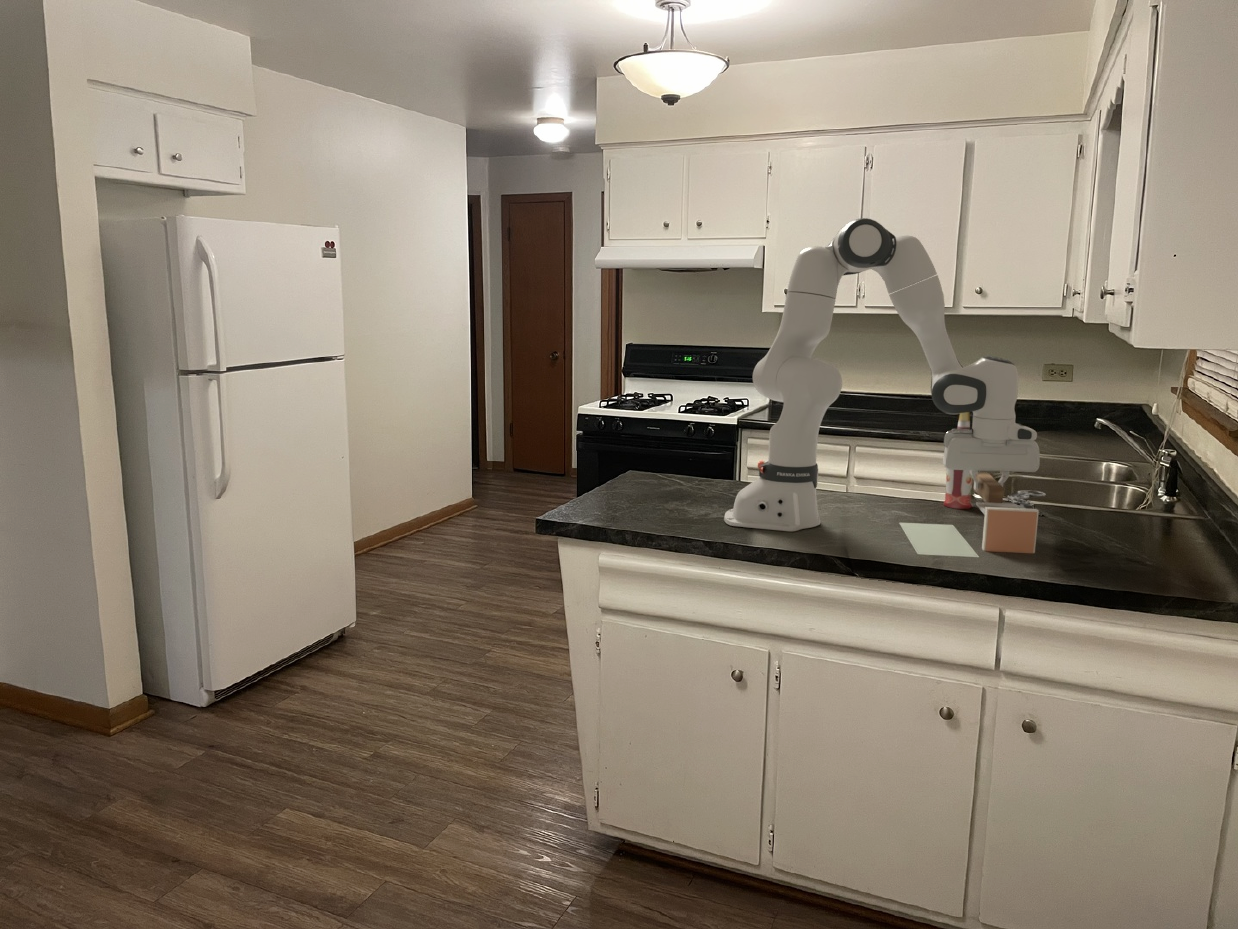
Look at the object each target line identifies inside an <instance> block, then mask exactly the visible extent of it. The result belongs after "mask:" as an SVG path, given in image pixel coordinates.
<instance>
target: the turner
mask: <svg viewBox="0 0 1238 929" xmlns="http://www.w3.org/2000/svg"><path fill="white" fill-rule="evenodd" d="M976 477H977V479H978V481H981V482H983V486H982V490H975V489H974V487H972V490H973V491H975V493H976V494H977V495H978V496H979V497H980V498H981V499H982V500H983V501H976V503H975V505H976V507H977V508H978V509H979V510H980V511H981V512H982V514H983V515H984V516H985V507H1001V508H1019V507H1018V506H1017V505H1016V504H1015V503H1011V502H1003V501H1004V500H1003V499H1004V492H1005V491H1004V490H1005V488H1004V486H1003V487H1002V486H1001V485H1000V484H999V483H998V482H999V481H997V480H996V479H995V478H994V477H993V476H992V475H991V474H990V472H980V471H978V475H976Z"/></svg>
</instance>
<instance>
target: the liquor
mask: <svg viewBox="0 0 1238 929" xmlns="http://www.w3.org/2000/svg"><path fill="white" fill-rule="evenodd" d="M970 413H971V412H965V413H960V414H959V415H958V422H957V427H956V429H971V420H970V418H971V414H970ZM950 433H951V432H950ZM952 434H953V433H952ZM958 434H960V433H958ZM945 468H946V467H945ZM945 471H946V476H945V478H946V479H945V493H944V494H945V495H944V496H945V497H944V501H943V503H942V504H943V506H944V507H946V508H949V509H955V510H969V509H971V508H972V507H973V504H972V500H971V499H972V492H973V491H972V490H973V484H974V480H973V478H972V477H971V475H970V470H949V469H947V468H946V470H945Z"/></svg>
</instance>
